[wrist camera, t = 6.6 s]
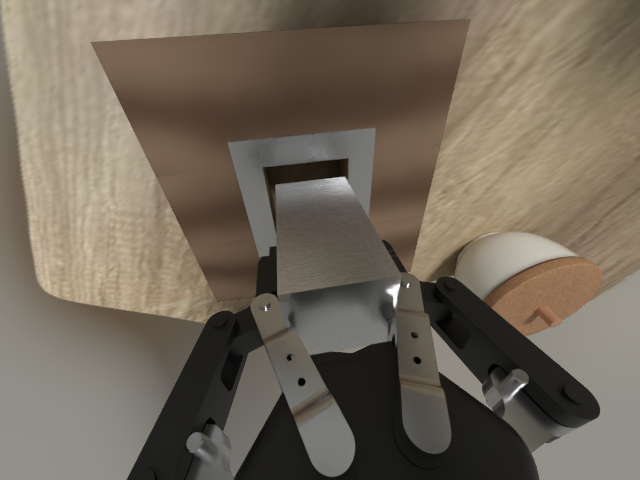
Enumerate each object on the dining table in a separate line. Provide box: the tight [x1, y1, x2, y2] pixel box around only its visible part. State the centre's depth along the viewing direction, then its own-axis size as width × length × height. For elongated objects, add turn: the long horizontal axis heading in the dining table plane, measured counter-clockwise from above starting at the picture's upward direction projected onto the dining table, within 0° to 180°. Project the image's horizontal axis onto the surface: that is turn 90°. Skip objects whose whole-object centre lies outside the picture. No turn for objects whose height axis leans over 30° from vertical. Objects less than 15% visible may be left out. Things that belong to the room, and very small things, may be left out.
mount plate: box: [91, 19, 470, 302], centre depth 22 cm, size 22×22×3 cm
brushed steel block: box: [275, 177, 402, 355], centre depth 15 cm, size 5×5×10 cm
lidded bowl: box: [454, 231, 603, 337], centre depth 29 cm, size 13×13×11 cm
